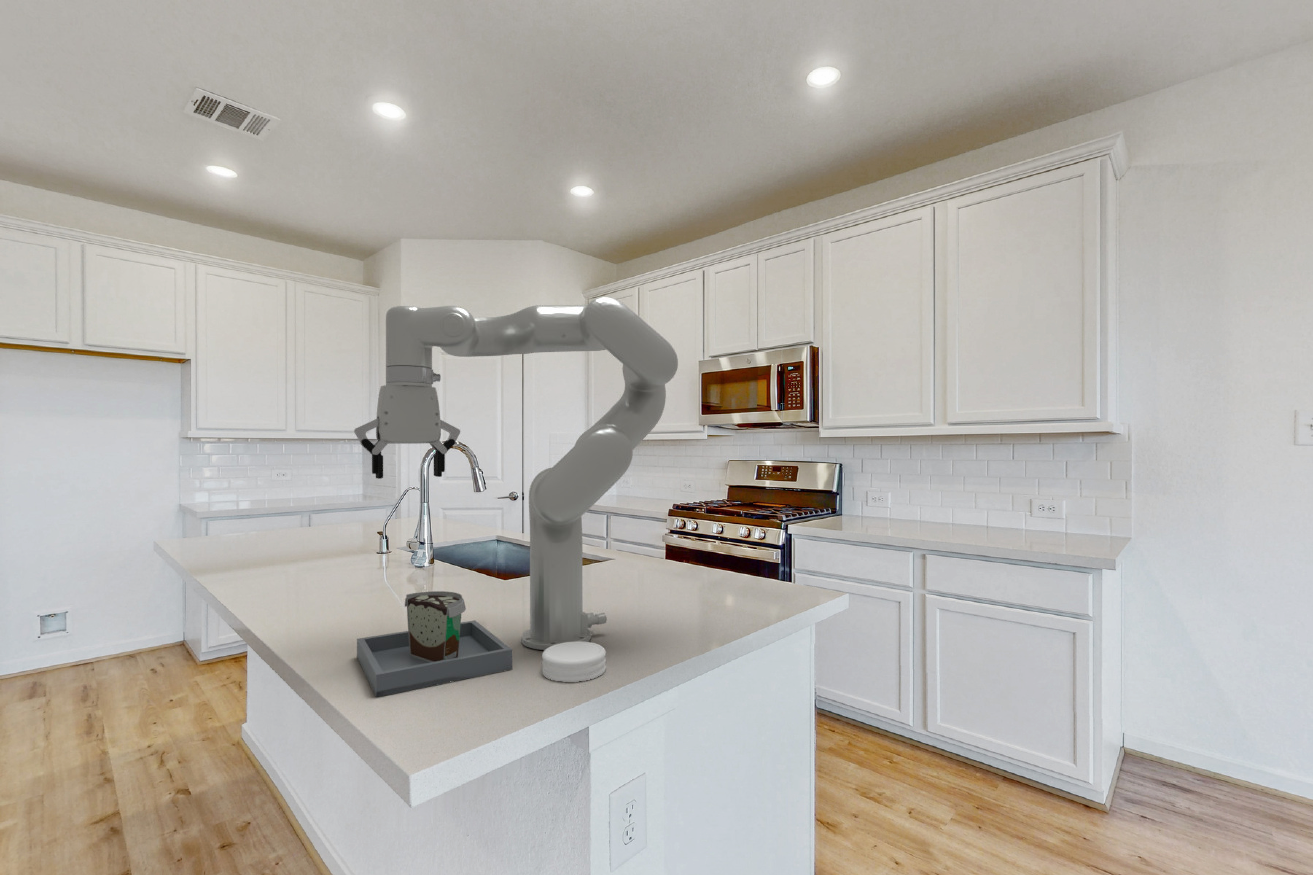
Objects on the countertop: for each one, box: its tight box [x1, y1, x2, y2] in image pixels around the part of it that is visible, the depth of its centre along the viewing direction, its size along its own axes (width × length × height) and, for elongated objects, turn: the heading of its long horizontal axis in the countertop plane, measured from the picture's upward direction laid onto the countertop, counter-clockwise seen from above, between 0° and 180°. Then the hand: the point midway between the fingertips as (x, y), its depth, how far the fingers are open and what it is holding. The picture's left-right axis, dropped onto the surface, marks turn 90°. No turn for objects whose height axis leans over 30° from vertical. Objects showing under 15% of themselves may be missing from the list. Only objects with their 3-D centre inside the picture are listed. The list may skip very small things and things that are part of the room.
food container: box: [404, 590, 467, 662], centre depth 104 cm, size 12×6×10 cm, turn 54°
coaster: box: [541, 641, 607, 683], centre depth 99 cm, size 10×10×4 cm
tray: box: [356, 620, 513, 698], centre depth 103 cm, size 20×20×3 cm
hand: (409, 477), depth 109 cm, fingers open, 9 cm apart
